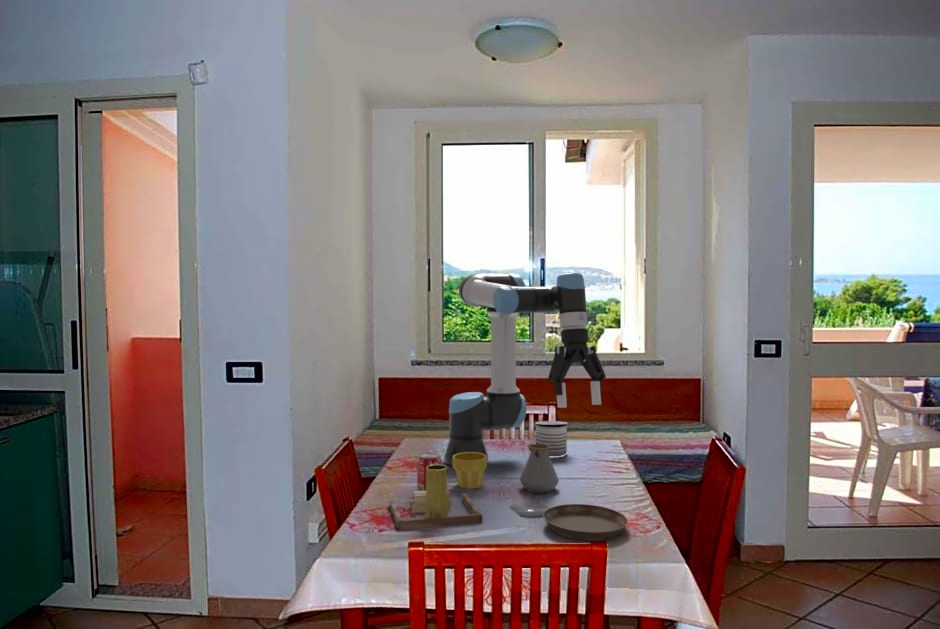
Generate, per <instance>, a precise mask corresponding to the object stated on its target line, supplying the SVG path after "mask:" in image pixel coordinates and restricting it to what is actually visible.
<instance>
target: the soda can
mask: <svg viewBox="0 0 940 629" xmlns="http://www.w3.org/2000/svg"><path fill="white" fill-rule="evenodd" d="M429 465H443V461H442V459H441V457H440V454H439V453H437V452H423V453H421V454H419V458H418V459H417V466H416V469H417V470H416V477H417V478H416V480H417V481H416V483H417V484H416V487H417V490H416V491H426V467H427V466H429Z"/></svg>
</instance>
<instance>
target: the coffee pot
mask: <svg viewBox="0 0 940 629" xmlns="http://www.w3.org/2000/svg"><path fill="white" fill-rule="evenodd" d="M527 448H528V451H529V452H530V454H529V456H528V459H527V461H526V464H525V466H524V468H523V471H522V473H521V475H520V477H519V481H520V483H521V486H522V487H524V488H525V489H526V488H527V489H528V490H530V491H533V492H532V493H535V492H538V494H544V492H546V493H550V492H552V491H553V489H555V488H556V487H557V486H558V484H559V481H560V480H559V477H558V474H557V471H556V470H555V467H554V465H553V463H552V460H551V458H550V457H549V455H548V451H549V449H550V446H549V445H545V444H536V443H533V444H529V445H527ZM527 489H526V490H527ZM528 490H527V491H528ZM551 490H552V491H551ZM530 491H529V492H530ZM549 491H550V492H549ZM541 492H542V493H541Z"/></svg>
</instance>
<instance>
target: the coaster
mask: <svg viewBox="0 0 940 629" xmlns="http://www.w3.org/2000/svg"><path fill="white" fill-rule="evenodd" d="M509 508H510V510H512V511H513V512H514V513H515V514H517V515H518V516H519V517H522V518H541V517H543V513H544V512H545V511H546V510H547V509H549V508H550V507H549V506H548V505H546V504H543V503H539V502H530V501H529V502H528V501H527V502H517V503H514V504H512V505H510V506H509Z"/></svg>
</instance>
